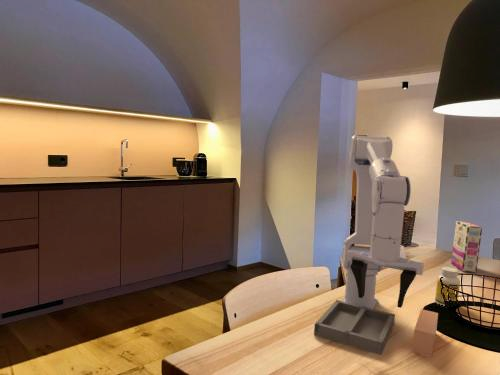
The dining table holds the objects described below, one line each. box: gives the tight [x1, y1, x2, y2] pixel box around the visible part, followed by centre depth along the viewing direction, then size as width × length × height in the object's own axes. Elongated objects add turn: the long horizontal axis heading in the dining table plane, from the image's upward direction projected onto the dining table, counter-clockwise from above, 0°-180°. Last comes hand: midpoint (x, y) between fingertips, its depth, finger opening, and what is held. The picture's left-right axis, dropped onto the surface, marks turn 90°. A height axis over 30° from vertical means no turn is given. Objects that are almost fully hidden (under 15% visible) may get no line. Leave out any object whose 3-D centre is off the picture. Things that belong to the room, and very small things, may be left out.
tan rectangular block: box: [411, 308, 439, 358], centre depth 82 cm, size 12×4×5 cm, turn 150°
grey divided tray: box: [313, 299, 396, 356], centre depth 86 cm, size 16×14×2 cm
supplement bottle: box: [434, 266, 461, 307], centre depth 104 cm, size 5×5×10 cm
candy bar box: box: [450, 220, 483, 273], centre depth 139 cm, size 11×5×16 cm, turn 172°
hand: (380, 301), depth 78 cm, fingers open, 7 cm apart
